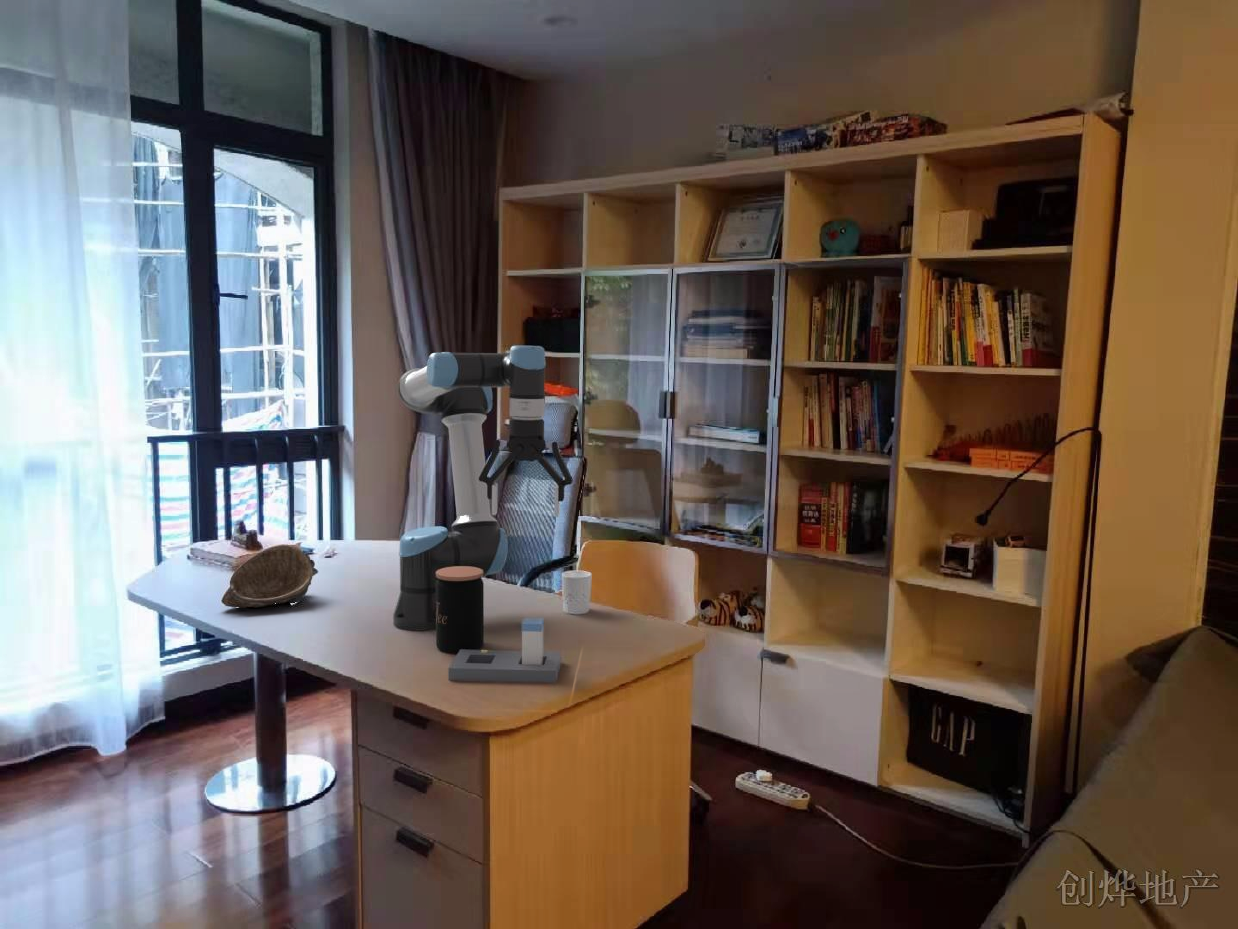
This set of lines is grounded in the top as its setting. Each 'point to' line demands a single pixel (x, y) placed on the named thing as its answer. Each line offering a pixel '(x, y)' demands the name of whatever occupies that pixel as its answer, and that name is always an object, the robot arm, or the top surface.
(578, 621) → the top surface
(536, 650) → the milk carton
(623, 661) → the top surface
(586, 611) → the white cup
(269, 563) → the coconut shell half
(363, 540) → the top surface
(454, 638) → the coffee jar
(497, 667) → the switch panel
